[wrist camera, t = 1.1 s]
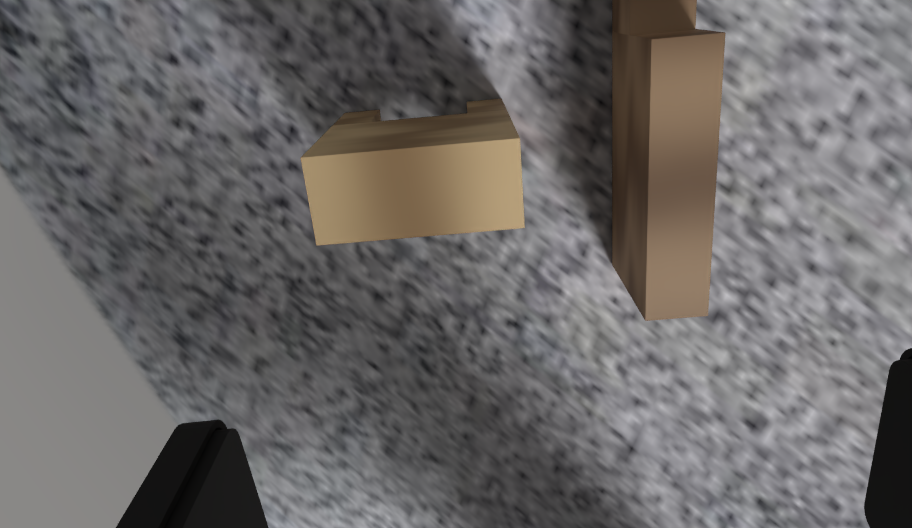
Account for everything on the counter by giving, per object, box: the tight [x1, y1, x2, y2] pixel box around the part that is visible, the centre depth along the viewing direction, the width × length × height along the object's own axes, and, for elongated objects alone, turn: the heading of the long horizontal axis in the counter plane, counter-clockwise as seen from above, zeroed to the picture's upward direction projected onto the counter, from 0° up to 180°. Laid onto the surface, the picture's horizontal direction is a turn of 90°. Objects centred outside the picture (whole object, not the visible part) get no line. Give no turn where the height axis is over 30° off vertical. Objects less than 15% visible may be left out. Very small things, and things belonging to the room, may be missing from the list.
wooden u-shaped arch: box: [301, 99, 525, 245], centre depth 25 cm, size 7×3×9 cm, turn 95°
